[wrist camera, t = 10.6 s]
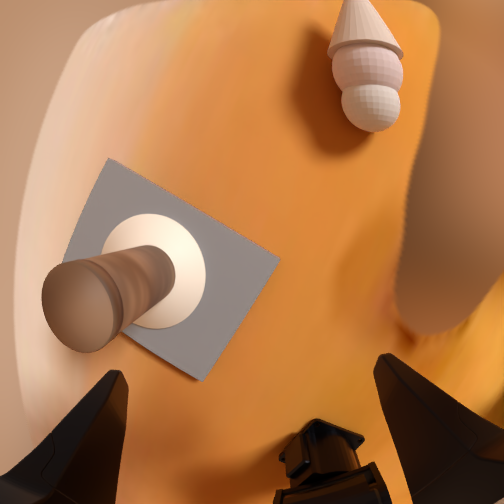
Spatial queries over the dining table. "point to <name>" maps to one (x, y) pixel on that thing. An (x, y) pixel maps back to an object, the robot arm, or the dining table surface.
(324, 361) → the dining table surface
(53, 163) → the dining table surface
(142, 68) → the dining table surface
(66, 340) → the pepper mill
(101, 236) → the serving board
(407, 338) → the dining table surface
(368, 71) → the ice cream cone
